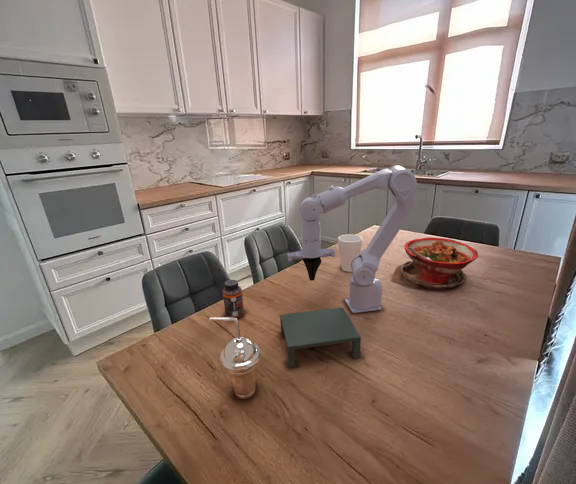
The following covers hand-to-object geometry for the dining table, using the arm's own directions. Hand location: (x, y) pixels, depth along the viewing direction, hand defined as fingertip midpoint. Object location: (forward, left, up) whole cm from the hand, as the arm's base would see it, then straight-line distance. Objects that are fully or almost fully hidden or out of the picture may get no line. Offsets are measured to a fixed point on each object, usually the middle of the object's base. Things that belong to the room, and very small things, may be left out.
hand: (311, 279), depth 98 cm
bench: (+3, +20, -9) cm, 22 cm away
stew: (-46, -7, -10) cm, 48 cm away
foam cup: (-21, -24, -10) cm, 33 cm away
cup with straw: (+23, +32, -10) cm, 41 cm away
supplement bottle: (+25, 0, -10) cm, 27 cm away
